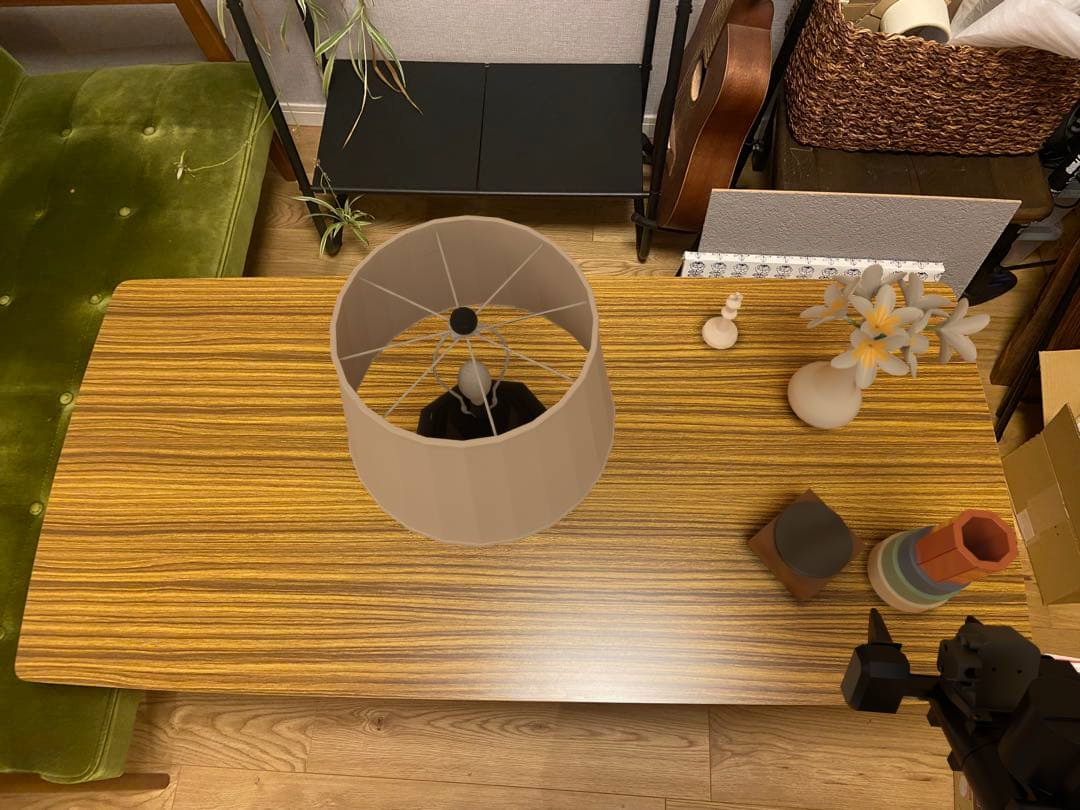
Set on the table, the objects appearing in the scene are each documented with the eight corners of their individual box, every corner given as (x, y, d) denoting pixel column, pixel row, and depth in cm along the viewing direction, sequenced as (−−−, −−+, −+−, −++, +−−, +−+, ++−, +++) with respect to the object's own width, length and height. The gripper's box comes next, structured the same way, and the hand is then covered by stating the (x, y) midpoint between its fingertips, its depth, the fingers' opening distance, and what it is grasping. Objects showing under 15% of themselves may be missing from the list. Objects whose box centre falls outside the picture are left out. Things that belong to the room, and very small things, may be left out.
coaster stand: (850, 556, 86) (870, 545, 81) (799, 603, 83) (816, 594, 78) (796, 500, 89) (811, 486, 84) (745, 544, 86) (758, 532, 81)
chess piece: (738, 349, 98) (759, 310, 89) (703, 348, 98) (720, 309, 89) (735, 319, 100) (754, 277, 91) (700, 318, 100) (716, 277, 91)
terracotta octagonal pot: (983, 561, 77) (1029, 544, 69) (948, 596, 75) (992, 582, 68) (939, 519, 79) (979, 497, 71) (903, 552, 77) (941, 533, 70)
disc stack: (958, 580, 85) (1003, 564, 76) (910, 628, 82) (950, 617, 74) (899, 523, 88) (936, 501, 79) (851, 567, 85) (884, 550, 77)
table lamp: (563, 365, 97) (576, 146, 61) (630, 552, 86) (694, 420, 50) (369, 417, 94) (262, 217, 57) (413, 618, 83) (314, 528, 47)
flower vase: (902, 438, 92) (1020, 342, 70) (766, 456, 91) (840, 365, 69) (868, 352, 98) (968, 237, 75) (739, 368, 97) (801, 257, 74)
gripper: (1172, 705, 51) (1050, 559, 65) (911, 683, 52) (844, 543, 65) (1105, 797, 56) (1005, 644, 70) (869, 776, 57) (815, 629, 71)
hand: (919, 614), depth 69 cm, fingers open, 9 cm apart
